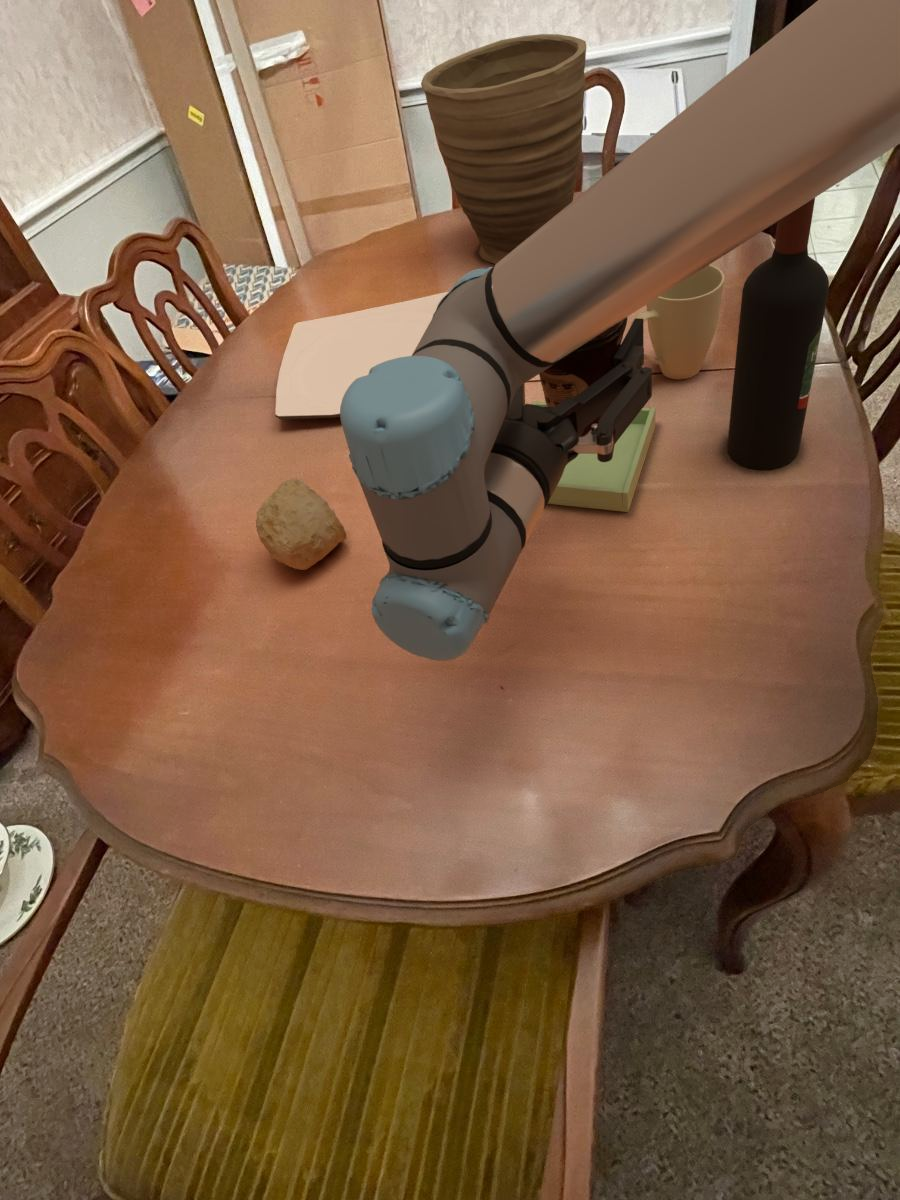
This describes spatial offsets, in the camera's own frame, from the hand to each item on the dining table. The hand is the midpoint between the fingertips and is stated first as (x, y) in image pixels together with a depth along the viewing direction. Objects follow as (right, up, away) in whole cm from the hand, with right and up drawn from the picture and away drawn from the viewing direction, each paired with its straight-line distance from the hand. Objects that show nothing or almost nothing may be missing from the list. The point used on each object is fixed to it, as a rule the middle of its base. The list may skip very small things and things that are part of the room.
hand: (594, 329), depth 71 cm
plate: (-25, +10, +42) cm, 50 cm away
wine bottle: (+22, -9, +14) cm, 27 cm away
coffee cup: (-1, -9, +3) cm, 9 cm away
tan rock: (-30, -20, +18) cm, 40 cm away
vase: (-1, +35, +59) cm, 69 cm away
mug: (+16, +4, +27) cm, 31 cm away
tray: (+2, -9, +19) cm, 21 cm away
